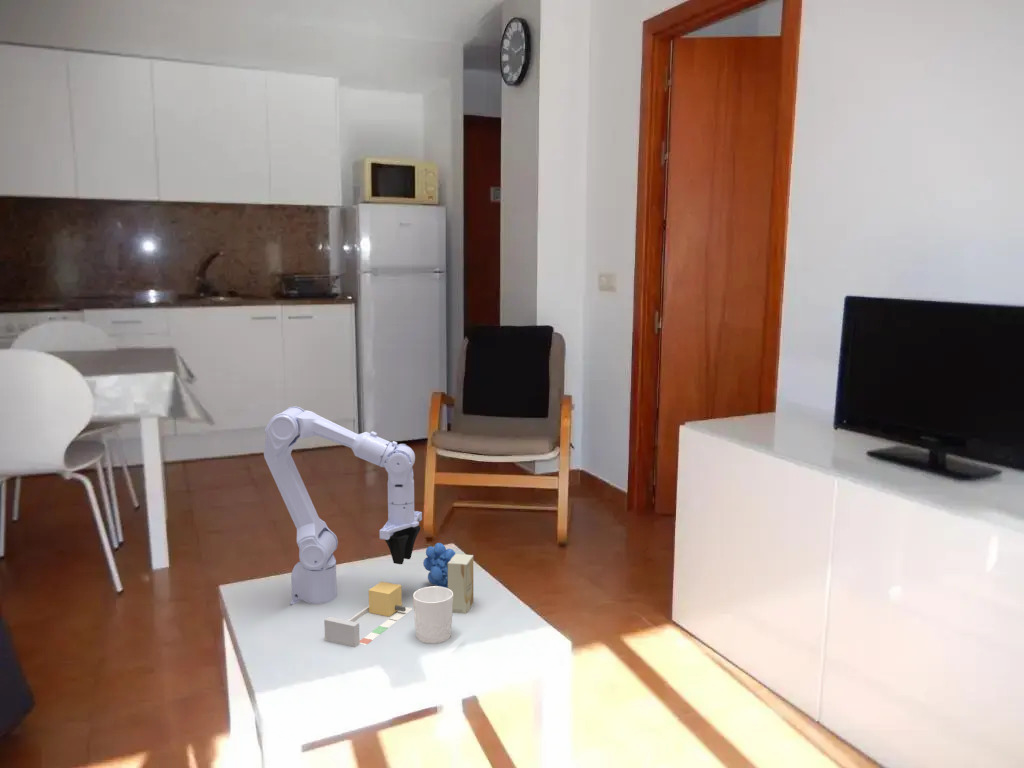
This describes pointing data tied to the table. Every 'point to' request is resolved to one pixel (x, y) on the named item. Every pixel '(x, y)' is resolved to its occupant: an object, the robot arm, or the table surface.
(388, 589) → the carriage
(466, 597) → the skincare box
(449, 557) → the grapes
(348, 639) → the gauge track
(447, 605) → the white cup
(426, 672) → the table surface
